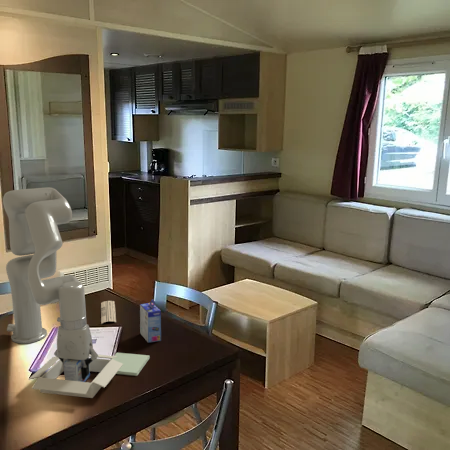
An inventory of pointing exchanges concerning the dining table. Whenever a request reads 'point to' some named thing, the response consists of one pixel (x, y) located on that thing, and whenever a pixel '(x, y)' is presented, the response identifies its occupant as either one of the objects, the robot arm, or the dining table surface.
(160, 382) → the dining table surface
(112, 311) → the newspaper
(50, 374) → the carton
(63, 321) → the robot arm
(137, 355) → the plate
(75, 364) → the medicine box
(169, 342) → the dining table surface
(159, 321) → the ink cartridge box
